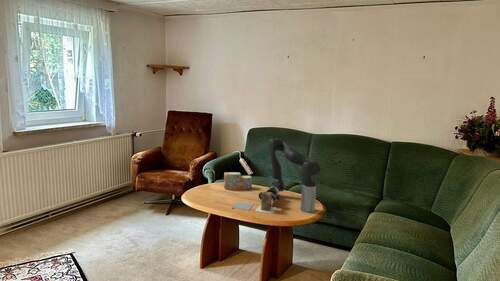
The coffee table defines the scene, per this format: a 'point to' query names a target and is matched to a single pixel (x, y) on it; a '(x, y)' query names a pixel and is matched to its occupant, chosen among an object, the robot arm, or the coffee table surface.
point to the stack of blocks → (237, 181)
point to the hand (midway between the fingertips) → (266, 199)
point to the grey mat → (242, 206)
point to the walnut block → (266, 201)
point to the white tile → (265, 210)
